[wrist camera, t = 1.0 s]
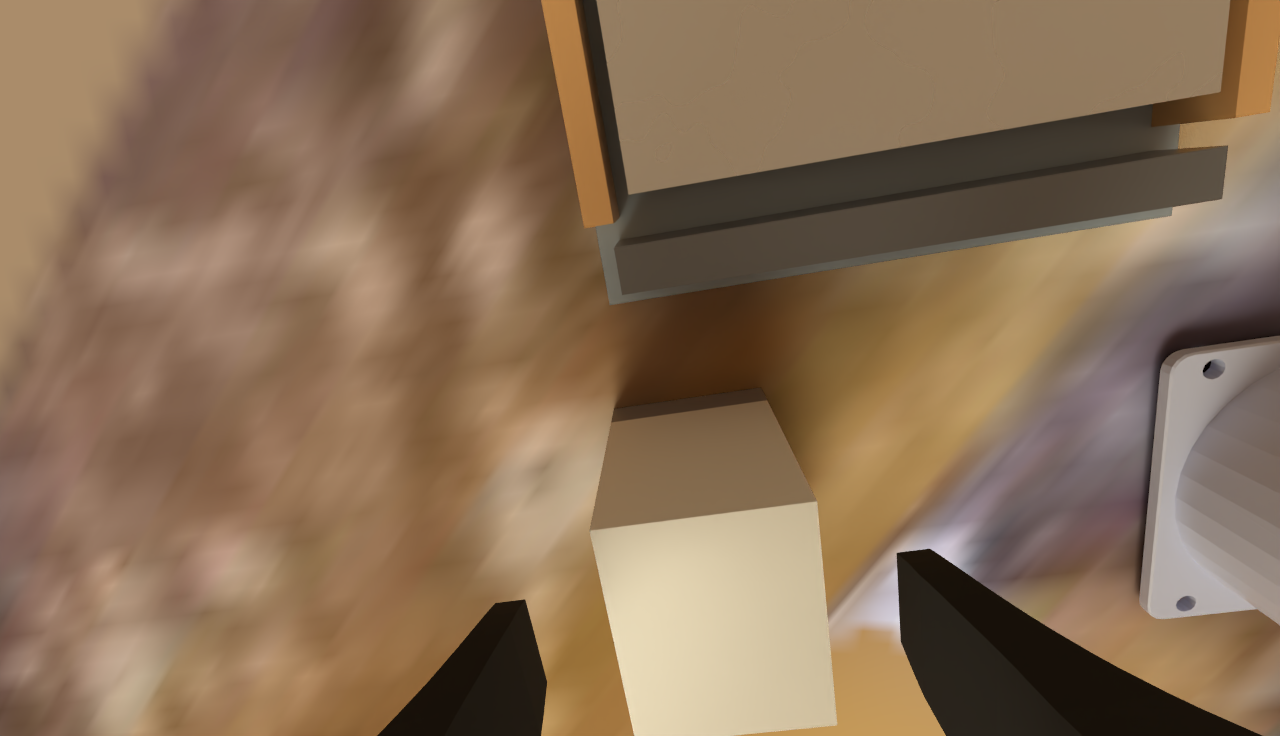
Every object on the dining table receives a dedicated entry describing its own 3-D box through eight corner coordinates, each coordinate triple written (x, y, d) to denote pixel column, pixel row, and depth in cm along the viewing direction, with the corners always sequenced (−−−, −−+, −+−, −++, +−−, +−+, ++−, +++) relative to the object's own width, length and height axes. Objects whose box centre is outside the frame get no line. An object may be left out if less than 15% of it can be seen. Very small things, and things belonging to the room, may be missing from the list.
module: (760, 387, 16) (817, 501, 10) (778, 546, 17) (837, 725, 12) (614, 408, 16) (589, 530, 11) (643, 563, 18) (636, 744, 12)
